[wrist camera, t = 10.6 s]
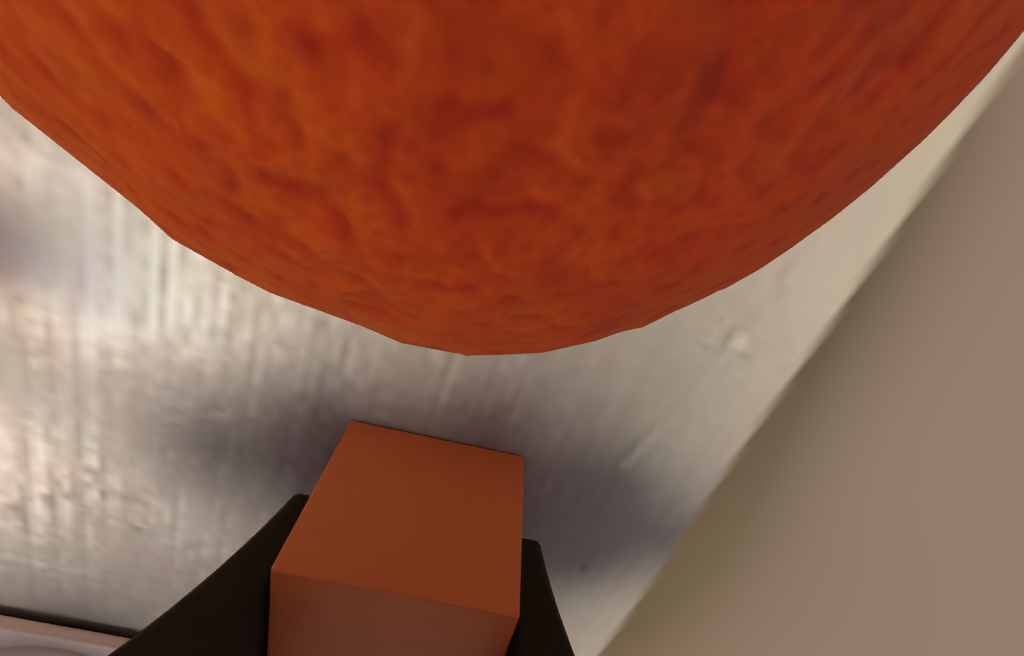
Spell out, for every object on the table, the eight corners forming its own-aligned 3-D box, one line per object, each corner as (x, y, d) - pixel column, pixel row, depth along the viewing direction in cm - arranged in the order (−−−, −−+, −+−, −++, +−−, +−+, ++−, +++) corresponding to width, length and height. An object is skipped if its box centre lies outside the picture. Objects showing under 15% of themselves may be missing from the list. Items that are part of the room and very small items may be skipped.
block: (524, 455, 12) (520, 617, 8) (488, 575, 14) (471, 752, 10) (350, 419, 12) (269, 569, 8) (336, 545, 14) (263, 715, 10)
